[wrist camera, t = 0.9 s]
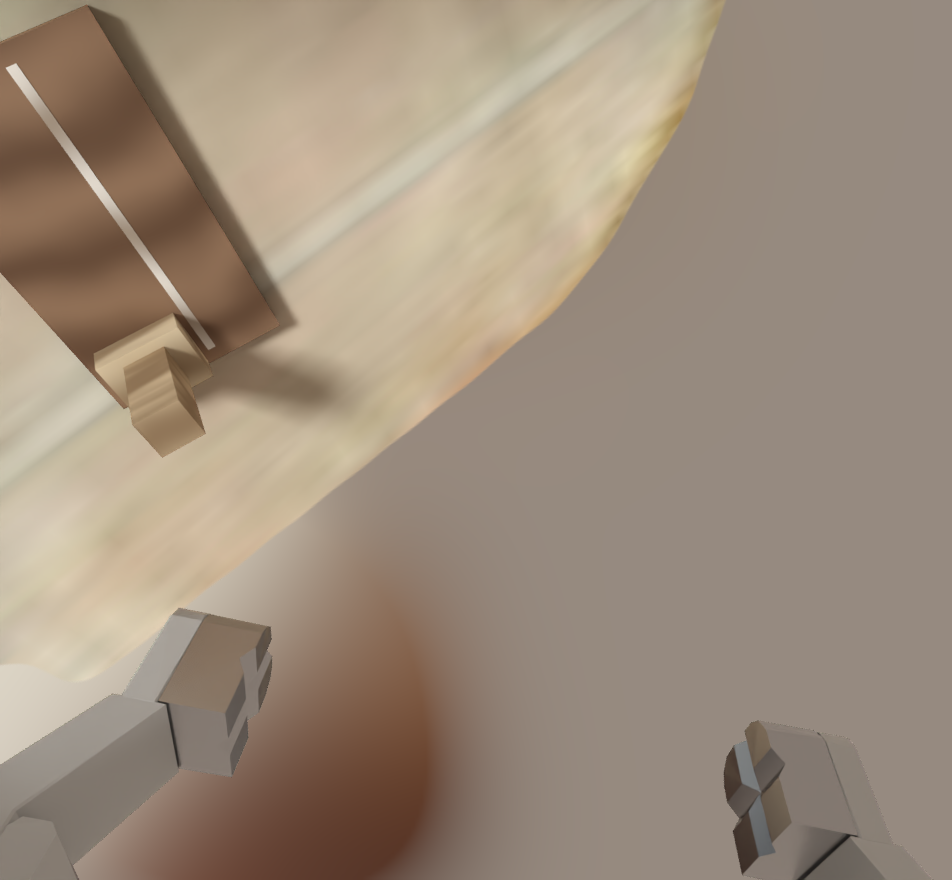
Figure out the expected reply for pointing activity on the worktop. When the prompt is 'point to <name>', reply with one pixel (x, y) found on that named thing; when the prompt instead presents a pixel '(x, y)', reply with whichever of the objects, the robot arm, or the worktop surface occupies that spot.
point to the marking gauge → (158, 382)
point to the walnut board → (107, 204)
